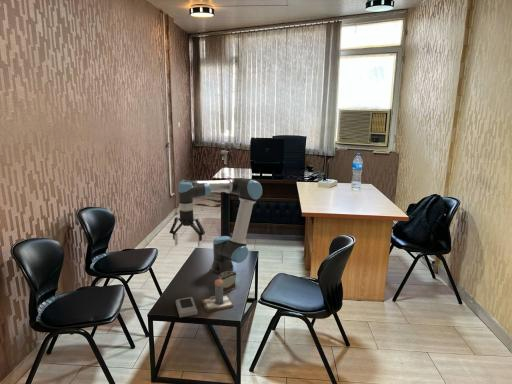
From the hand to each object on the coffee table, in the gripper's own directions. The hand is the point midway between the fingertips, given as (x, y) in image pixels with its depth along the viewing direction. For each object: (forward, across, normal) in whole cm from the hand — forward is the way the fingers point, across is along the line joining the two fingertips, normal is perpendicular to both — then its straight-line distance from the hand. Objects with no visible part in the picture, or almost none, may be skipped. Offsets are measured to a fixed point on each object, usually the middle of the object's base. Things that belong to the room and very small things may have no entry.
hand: (187, 245), depth 208 cm
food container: (+31, +20, +10) cm, 38 cm away
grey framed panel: (+31, +3, -16) cm, 35 cm away
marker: (+29, +20, -9) cm, 37 cm away
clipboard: (+31, +19, -9) cm, 37 cm away
